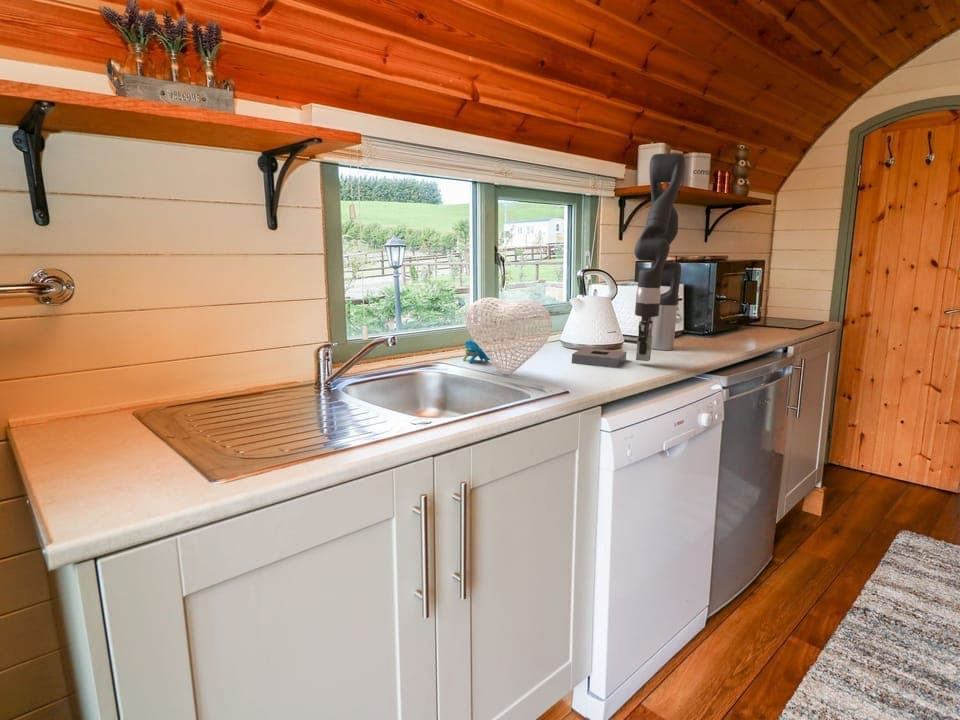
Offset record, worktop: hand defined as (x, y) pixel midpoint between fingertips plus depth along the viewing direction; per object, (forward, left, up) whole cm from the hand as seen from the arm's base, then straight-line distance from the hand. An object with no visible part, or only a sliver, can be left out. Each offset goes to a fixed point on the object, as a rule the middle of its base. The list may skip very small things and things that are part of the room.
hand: (643, 352), depth 192 cm
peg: (0, 0, -2) cm, 2 cm away
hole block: (+2, -14, -4) cm, 15 cm away
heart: (+37, -34, -4) cm, 51 cm away
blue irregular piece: (+25, -49, -4) cm, 55 cm away
